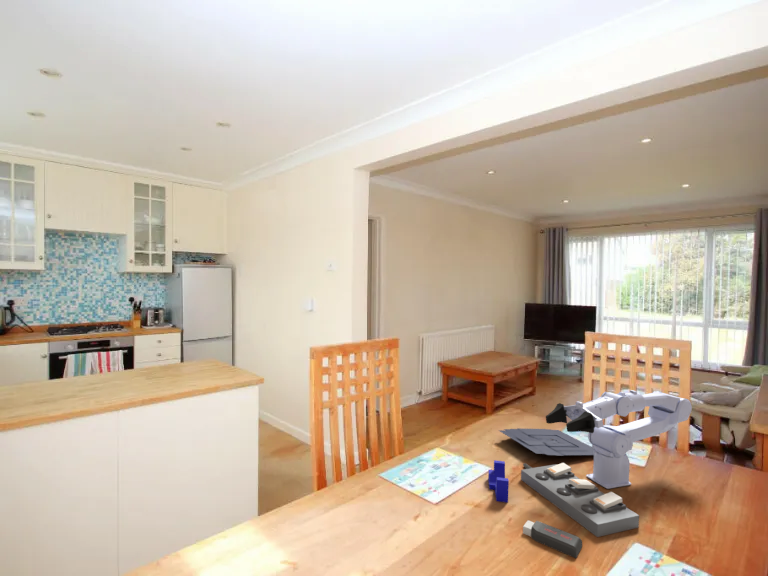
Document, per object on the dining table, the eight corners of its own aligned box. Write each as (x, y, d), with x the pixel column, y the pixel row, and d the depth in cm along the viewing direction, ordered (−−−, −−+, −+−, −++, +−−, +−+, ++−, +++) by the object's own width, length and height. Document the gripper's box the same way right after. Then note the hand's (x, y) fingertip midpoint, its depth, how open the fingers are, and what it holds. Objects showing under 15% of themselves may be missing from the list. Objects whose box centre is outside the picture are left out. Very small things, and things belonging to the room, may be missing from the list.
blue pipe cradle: (488, 479, 122) (488, 459, 122) (503, 481, 121) (504, 461, 121) (490, 501, 110) (491, 479, 110) (507, 503, 110) (508, 481, 109)
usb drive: (576, 560, 88) (576, 547, 88) (521, 536, 96) (521, 525, 96) (582, 547, 92) (582, 535, 92) (529, 526, 100) (529, 515, 100)
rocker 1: (563, 465, 122) (563, 462, 122) (571, 470, 119) (571, 467, 119) (547, 471, 120) (546, 468, 120) (555, 476, 117) (554, 473, 117)
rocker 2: (611, 495, 106) (611, 491, 106) (622, 501, 103) (622, 497, 103) (593, 502, 104) (593, 498, 104) (604, 509, 101) (603, 505, 101)
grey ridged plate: (493, 435, 153) (495, 426, 153) (556, 436, 163) (558, 427, 163) (539, 464, 130) (540, 453, 130) (609, 463, 140) (610, 452, 140)
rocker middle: (585, 483, 114) (585, 479, 114) (594, 488, 111) (595, 484, 111) (568, 482, 112) (569, 478, 112) (577, 488, 109) (578, 484, 109)
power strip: (540, 463, 133) (540, 452, 133) (638, 527, 100) (639, 512, 100) (506, 468, 129) (506, 457, 129) (597, 537, 96) (597, 521, 96)
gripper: (571, 392, 126) (536, 403, 121) (613, 404, 113) (575, 417, 108) (574, 414, 126) (539, 426, 121) (616, 429, 113) (579, 443, 108)
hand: (556, 423), depth 115 cm, fingers open, 7 cm apart
